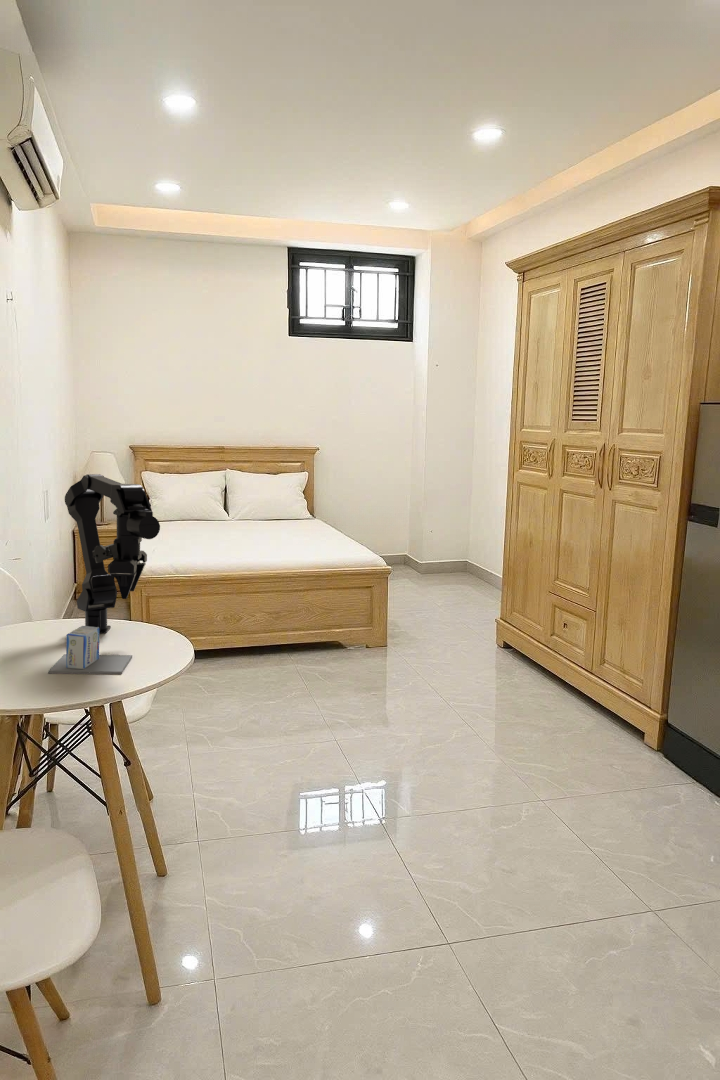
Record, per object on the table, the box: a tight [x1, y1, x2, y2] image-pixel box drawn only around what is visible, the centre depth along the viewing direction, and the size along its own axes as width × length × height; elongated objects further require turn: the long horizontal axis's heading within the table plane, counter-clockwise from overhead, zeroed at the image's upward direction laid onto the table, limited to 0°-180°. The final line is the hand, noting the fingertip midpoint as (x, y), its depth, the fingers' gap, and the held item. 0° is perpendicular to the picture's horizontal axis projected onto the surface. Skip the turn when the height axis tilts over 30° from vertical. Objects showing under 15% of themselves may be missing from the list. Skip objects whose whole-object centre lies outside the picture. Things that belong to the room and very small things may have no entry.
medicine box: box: [65, 625, 100, 669], centre depth 181 cm, size 8×4×9 cm
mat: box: [47, 653, 133, 675], centre depth 183 cm, size 13×16×1 cm
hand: (128, 594), depth 199 cm, fingers open, 9 cm apart
